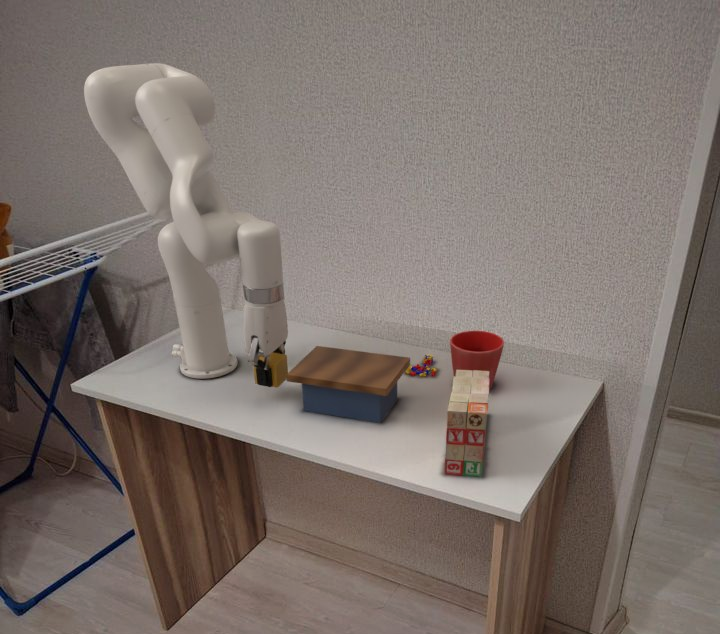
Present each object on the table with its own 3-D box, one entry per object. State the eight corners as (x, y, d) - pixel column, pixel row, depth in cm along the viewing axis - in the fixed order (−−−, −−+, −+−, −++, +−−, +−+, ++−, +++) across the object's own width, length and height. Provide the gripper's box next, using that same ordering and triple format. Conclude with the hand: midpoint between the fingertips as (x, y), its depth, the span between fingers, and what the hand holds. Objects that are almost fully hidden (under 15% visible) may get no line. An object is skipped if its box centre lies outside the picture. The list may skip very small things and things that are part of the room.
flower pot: (510, 381, 140) (514, 337, 134) (482, 401, 133) (486, 356, 128) (466, 368, 146) (468, 325, 140) (437, 387, 139) (439, 343, 133)
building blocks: (402, 374, 144) (402, 367, 144) (416, 359, 150) (417, 352, 149) (431, 379, 142) (431, 372, 141) (444, 364, 148) (444, 357, 147)
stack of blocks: (454, 413, 130) (457, 353, 123) (487, 415, 129) (492, 355, 122) (444, 474, 113) (447, 409, 106) (482, 477, 111) (487, 412, 104)
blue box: (304, 410, 133) (301, 378, 129) (324, 388, 140) (322, 357, 136) (380, 423, 127) (379, 390, 124) (397, 399, 135) (397, 367, 131)
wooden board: (286, 381, 128) (286, 374, 127) (317, 352, 138) (316, 345, 137) (386, 396, 121) (386, 388, 120) (410, 364, 132) (410, 357, 131)
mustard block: (255, 383, 136) (252, 361, 133) (266, 373, 139) (264, 350, 136) (277, 388, 134) (275, 365, 131) (288, 377, 138) (286, 354, 135)
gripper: (267, 275, 133) (274, 359, 144) (222, 305, 121) (234, 395, 131) (301, 279, 131) (306, 364, 142) (260, 311, 118) (268, 401, 129)
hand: (271, 378), depth 137 cm, fingers closed on mustard block, 5 cm apart
